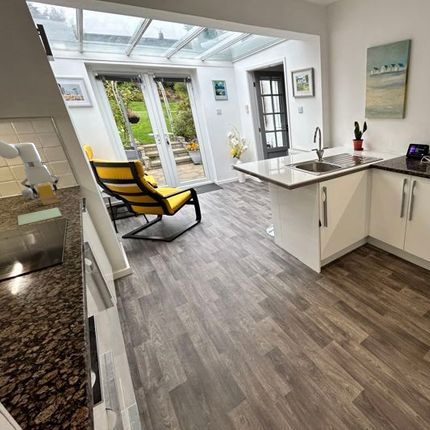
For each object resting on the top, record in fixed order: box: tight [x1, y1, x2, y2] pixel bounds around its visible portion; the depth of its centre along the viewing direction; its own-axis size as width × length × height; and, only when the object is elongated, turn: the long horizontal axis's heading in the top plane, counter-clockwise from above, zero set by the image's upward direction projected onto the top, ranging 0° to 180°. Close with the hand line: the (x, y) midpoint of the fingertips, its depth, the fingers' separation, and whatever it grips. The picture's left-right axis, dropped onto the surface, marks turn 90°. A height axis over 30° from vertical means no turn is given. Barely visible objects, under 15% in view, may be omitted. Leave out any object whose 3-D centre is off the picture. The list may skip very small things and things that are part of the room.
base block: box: [38, 192, 60, 206], centre depth 162 cm, size 7×7×5 cm
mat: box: [17, 207, 63, 227], centre depth 141 cm, size 20×16×1 cm
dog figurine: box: [21, 182, 41, 201], centre depth 173 cm, size 5×13×11 cm, turn 12°
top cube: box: [36, 183, 56, 197], centre depth 160 cm, size 6×6×6 cm
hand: (46, 192), depth 161 cm, fingers open, 8 cm apart
